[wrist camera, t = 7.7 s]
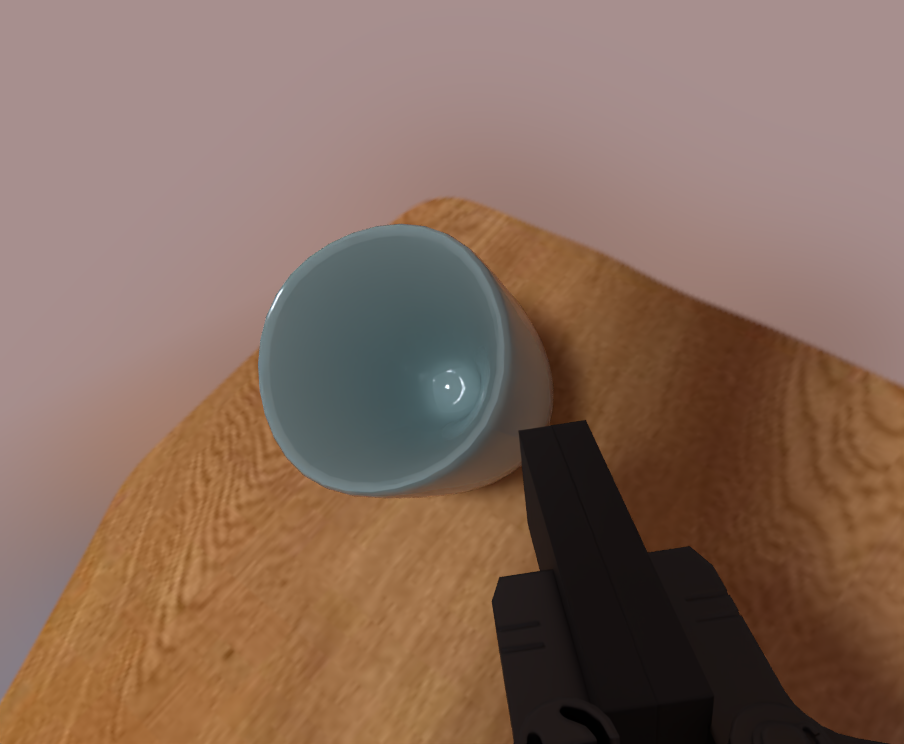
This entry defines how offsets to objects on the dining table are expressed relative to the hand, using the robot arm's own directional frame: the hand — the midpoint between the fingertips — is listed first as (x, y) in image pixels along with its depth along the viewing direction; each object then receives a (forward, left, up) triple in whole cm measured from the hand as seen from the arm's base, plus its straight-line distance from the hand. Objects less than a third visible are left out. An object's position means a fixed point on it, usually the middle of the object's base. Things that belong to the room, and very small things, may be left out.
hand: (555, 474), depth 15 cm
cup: (+4, -5, -11) cm, 13 cm away
